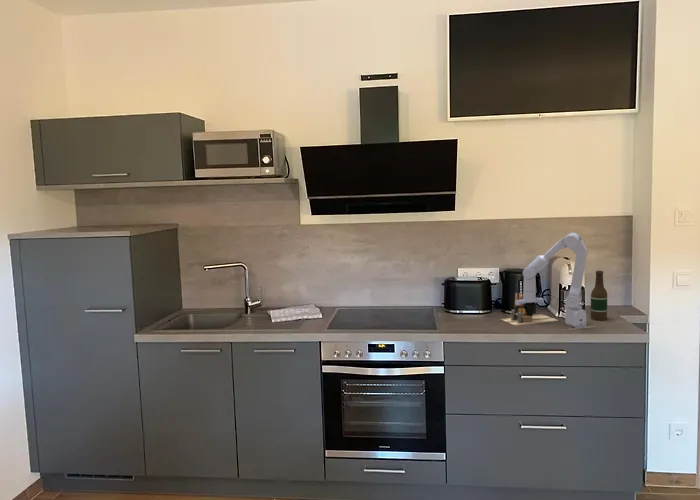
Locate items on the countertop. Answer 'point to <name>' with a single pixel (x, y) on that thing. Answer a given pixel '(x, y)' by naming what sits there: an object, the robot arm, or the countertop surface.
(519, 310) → the ammunition clip
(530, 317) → the tan cardboard box
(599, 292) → the beer bottle
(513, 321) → the bench board
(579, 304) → the robot arm
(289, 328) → the countertop surface
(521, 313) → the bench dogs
